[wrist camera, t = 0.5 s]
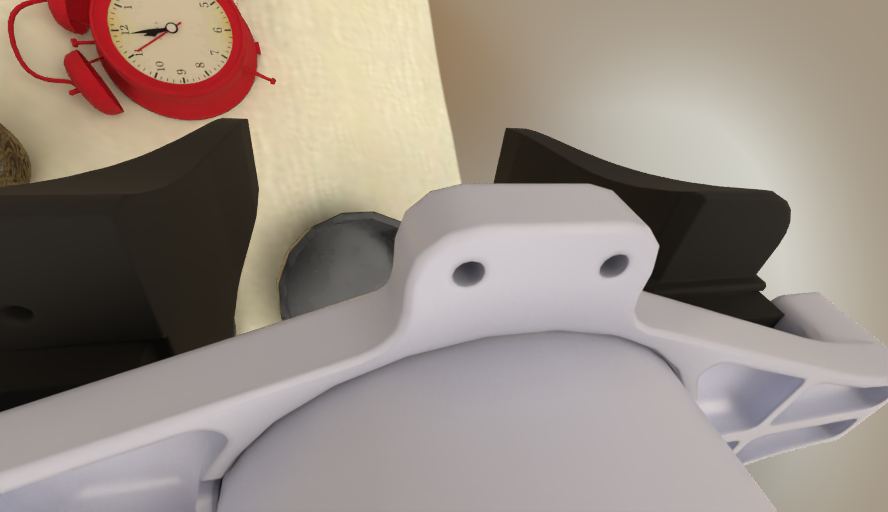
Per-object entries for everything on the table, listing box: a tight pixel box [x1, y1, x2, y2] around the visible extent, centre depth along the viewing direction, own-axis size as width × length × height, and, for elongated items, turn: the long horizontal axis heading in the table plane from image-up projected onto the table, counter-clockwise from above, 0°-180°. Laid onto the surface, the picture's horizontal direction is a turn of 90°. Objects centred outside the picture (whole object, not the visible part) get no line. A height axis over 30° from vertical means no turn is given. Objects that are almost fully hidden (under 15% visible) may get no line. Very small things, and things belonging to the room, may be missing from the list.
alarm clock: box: [8, 0, 276, 120], centre depth 30 cm, size 10×6×15 cm
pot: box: [277, 212, 401, 321], centre depth 35 cm, size 12×12×5 cm
